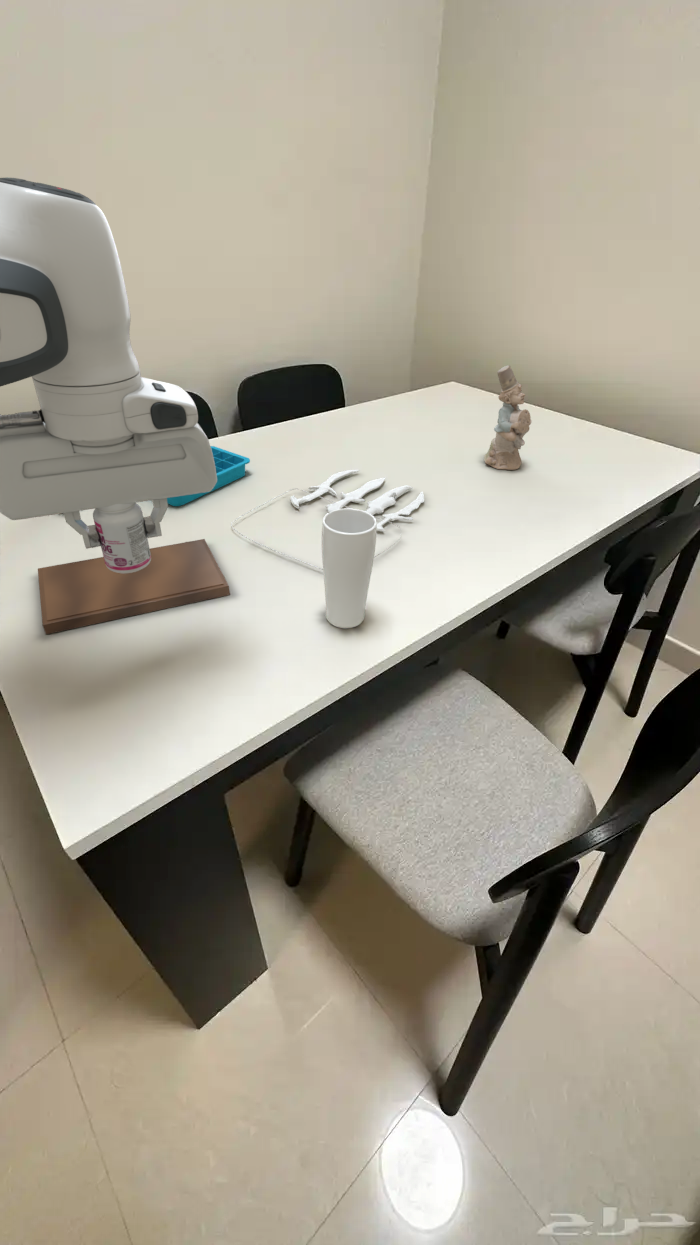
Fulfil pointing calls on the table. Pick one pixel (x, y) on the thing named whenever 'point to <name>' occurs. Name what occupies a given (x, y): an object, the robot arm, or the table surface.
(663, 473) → the table surface
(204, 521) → the table surface
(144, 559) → the pill bottle
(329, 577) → the drinking glass
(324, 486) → the knife set
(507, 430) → the figurine
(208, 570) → the cutting board
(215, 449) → the ice cube tray
